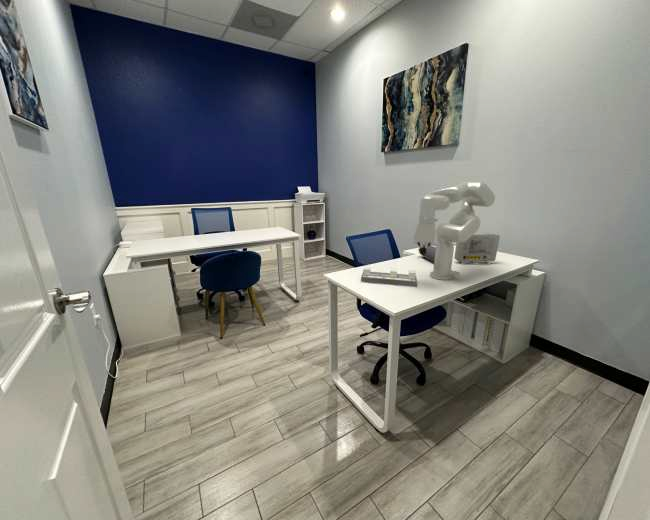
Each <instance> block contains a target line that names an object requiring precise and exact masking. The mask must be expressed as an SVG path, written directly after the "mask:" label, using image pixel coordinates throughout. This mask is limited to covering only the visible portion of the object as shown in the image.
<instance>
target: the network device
mask: <svg viewBox="0 0 650 520" xmlns="http://www.w3.org/2000/svg"><path fill="white" fill-rule="evenodd" d="M500 237H501V235H499V234H498V233H497V234H496V233H474V234H473V235H472V236H471V237H470V238H469V239H468V240H467V241H466V242H464V243H456V242H455V243H456V244H455V249H454V250H455V251H454V256H453V259H454V260H455V261H457V262H458V263H459V264H461V265H463V266H491V263H490V262H495V261H496V259H497V253H498V248H499V243H500ZM465 262H466V263H465ZM467 262H469V263H467ZM479 262H480V263H479ZM481 262H482V263H481Z"/></svg>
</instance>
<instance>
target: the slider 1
mask: <svg viewBox="0 0 650 520" xmlns="http://www.w3.org/2000/svg"><path fill="white" fill-rule="evenodd" d="M370 272H371V266H365V265H364V267H363V271H362V273H363V275H370Z"/></svg>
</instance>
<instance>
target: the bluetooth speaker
mask: <svg viewBox="0 0 650 520" xmlns="http://www.w3.org/2000/svg"><path fill="white" fill-rule="evenodd" d="M422 245H423V247H424V246H425V243H422ZM418 247H419V248H418V253H419V254H420V255H421V253H420V246H418ZM435 252H436V246H433V245H430V246H428V247H427V248H426V254H425V255H422V256H423V257H424V258H425V259H426V260H428V261H429V262H430V263H433V264H434V260H435Z"/></svg>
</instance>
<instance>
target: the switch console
mask: <svg viewBox="0 0 650 520" xmlns="http://www.w3.org/2000/svg"><path fill="white" fill-rule="evenodd" d="M408 275H409V274H405V273H404V274H403V273H397V278H394V277H390V272H378V271H370V275H363V272H362V274H361V276H360V283H371V284H381V285H392V286H403V287H404V286H405V287H414V288H417V286H418V280H417V277H416V278H415V279H409V276H408Z"/></svg>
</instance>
